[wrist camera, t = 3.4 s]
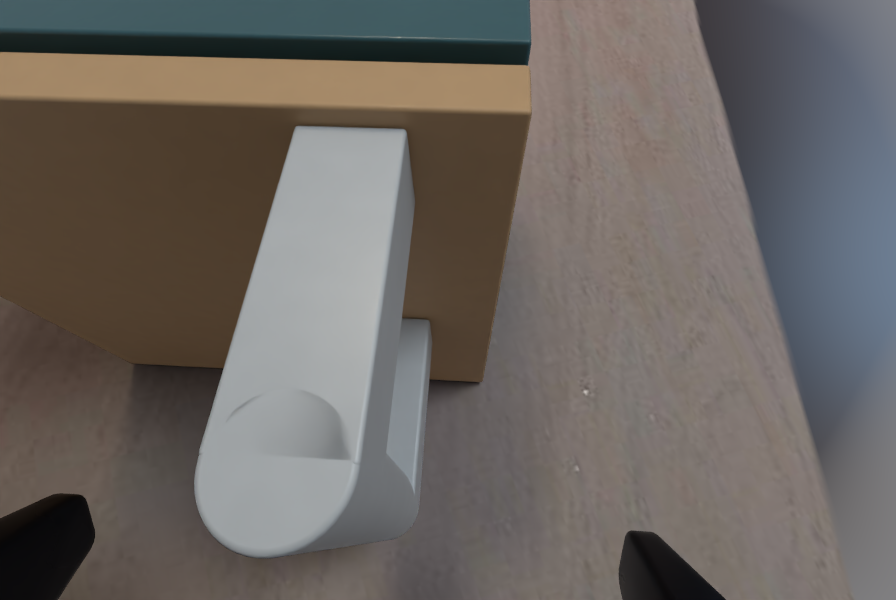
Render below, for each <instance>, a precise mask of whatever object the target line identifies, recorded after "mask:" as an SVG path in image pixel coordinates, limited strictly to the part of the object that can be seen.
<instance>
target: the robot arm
mask: <svg viewBox="0 0 896 600" xmlns="http://www.w3.org/2000/svg"><path fill="white" fill-rule="evenodd" d="M94 539H95V529H94V525H93V522H92V518H91V514H90V511H89V507H88V504H87V501H86V499H85V498H84V497H83V496H82V495H78V494H63V493H60V494H54V495H51V496H48V497H46V498H44V499H42V500H40V501H38V502H35V503H33V504H31V505H29V506H27V507H24V508H22V509H20V510H18V511H16V512H13V513H11V514H9V515H7V516H5V517H2V518H0V600H58V599H59V597H60V596H61V594H62V592H63V591H64V589H65V588H66V586H67V585H68V583H69V582H70V580H71V579H72V577H73V576H74V574H75V572H76V571H77V569H78V568H79V566H80V565H81V563H82V562H83V560H84V559H85V557H86V555H87V554H88V552H89V551H90V549H91V547H92V545H93V543H94ZM619 584H620V589H621V594H622V599H623V600H726V599H725V598H724V597H723V596H722V595H721V594H719V593H718V592H717V591H716V590H715V589H714V588H713V587H712V586H711V585H710V584H709V583H708V582H707V581H706V580H705V579H704V578H703V577H701V576H700V575H699V574H698V573H697V572H696V571H695V570H694V569H693V568H692V567H691V566H690V565H689V564H688V563H687V562H686V561H685V560H683V559H682V558H681V557H680V556H679V555H678V554H677V553H676V552H675V551H674V550H673V549H672V548H671V547H670V546H669V545H668V544H667V543H665V542H664V541H663V540H662V539H661V538H660V537H659V536H658V535H657V534H655V533H653V532H646V531H629V532H627V534H626V536H625V540H624V545H623V550H622V555H621V560H620V565H619Z"/></svg>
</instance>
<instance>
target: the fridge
mask: <svg viewBox="0 0 896 600" xmlns="http://www.w3.org/2000/svg"><path fill="white" fill-rule="evenodd" d="M530 48H531V23H530V0H0V52H20V53H60V54H99V55H138V56H178V57H217V58H257V59H296V60H336V61H375V62H415V63H454V64H493V65H526V66H528V61H529V55H530Z"/></svg>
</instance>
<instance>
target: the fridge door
mask: <svg viewBox="0 0 896 600" xmlns="http://www.w3.org/2000/svg"><path fill="white" fill-rule="evenodd" d="M531 115H532V106H531V77H530V68H529V66H526V65H493V64H454V63H415V62H375V61H336V60H296V59H257V58H217V57H178V56H138V55H99V54H60V53H20V52H0V296H1V297H3V298H5V299H7V300H9V301H11V302H13V303H15V304H17V305H19V306H21V307H23V308H24V309H26V310H28V311H30V312H32V313H34V314H36V315H38V316H40V317H42V318H44V319H46V320H48V321H50V322H52V323H54V324H56V325H58V326H60V327H61V328H63V329H65V330H67V331H69V332H71V333H73V334H75V335H77V336H79V337H81V338H83V339H85V340H87V341H89V342H91V343H93V344H95V345H97V346H98V347H100V348H102V349H104V350H106V351H108V352H110V353H112V354H114V355H116V356H118V357H120V358H122V359H124V360H126V361H128V362H130V363H133V364H152V365H170V366H189V367H208V368H224V369H223V372H222V375H221V379H220V382H219V386H218V389H217V392H216V396H215V399H214V402H213V406H212V409H211V413H210V416H209V419H208V423H207V426H206V429H205V433H204V436H203V440H202V443H201V446H200V450H199V457H198V461H197V465H196V470H195V479H194V492H195V498H196V504H197V507H198V510H199V514H200V516H201V518H202V520H203V522H204V525H205V526H206V528H207V529H208V531H209V532H210V533H211V535H212V536H213V537H214V538H215V539H216V540H217V541H218V542H219V543H221V544H222V545H223V546H225V547H226V548H227V549H229V550H231V551H233V552H235V553H237V554H240V555H244V556H247V557H252V558H276V557H283V556H289V555H295V554H302V553H308V552H315V551H321V550H328V549H334V548H341V547H347V546H354V545H360V544H367V543H373V542H380V541H386V540H392V539H396V538H398V537H400V536H402V535H403V534H405V533H406V532H407V531H408V530H409V529H410V528H411V526H412V525H413V524H414V522H415V520H416V517H417V515H418V511H419V502H420V489H421V477H422V464H423V452H424V439H425V427H426V415H427V402H428V390H429V379H432V380H451V381H470V382H482V381H483V377H484V371H485V366H486V360H487V355H488V349H489V344H490V338H491V333H492V327H493V322H494V316H495V311H496V306H497V300H498V295H499V289H500V284H501V278H502V273H503V267H504V262H505V256H506V251H507V246H508V240H509V235H510V229H511V224H512V218H513V213H514V207H515V202H516V196H517V191H518V186H519V180H520V175H521V169H522V164H523V158H524V153H525V147H526V142H527V136H528V131H529V126H530V120H531Z"/></svg>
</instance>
